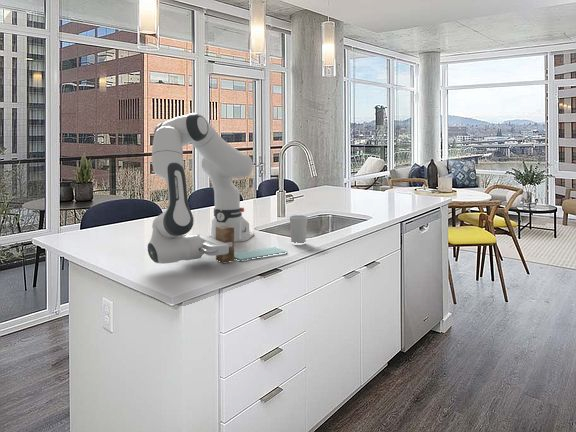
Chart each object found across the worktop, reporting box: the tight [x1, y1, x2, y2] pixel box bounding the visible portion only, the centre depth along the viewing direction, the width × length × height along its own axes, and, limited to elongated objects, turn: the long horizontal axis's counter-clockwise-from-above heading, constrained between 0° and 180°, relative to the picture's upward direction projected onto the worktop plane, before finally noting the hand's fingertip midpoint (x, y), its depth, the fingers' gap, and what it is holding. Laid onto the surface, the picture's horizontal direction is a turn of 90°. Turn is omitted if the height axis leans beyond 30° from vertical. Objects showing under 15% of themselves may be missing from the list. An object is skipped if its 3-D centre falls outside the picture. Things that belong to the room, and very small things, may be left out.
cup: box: [289, 214, 309, 243], centre depth 221 cm, size 8×8×12 cm
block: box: [215, 225, 235, 263], centre depth 191 cm, size 5×5×13 cm
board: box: [234, 246, 288, 262], centre depth 201 cm, size 22×9×1 cm, turn 126°
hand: (227, 242), depth 192 cm, fingers closed on block, 5 cm apart
